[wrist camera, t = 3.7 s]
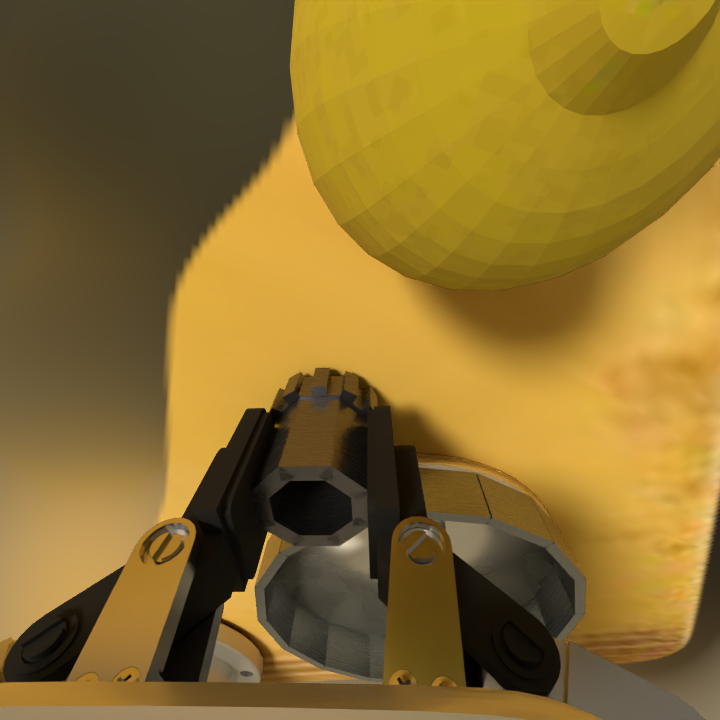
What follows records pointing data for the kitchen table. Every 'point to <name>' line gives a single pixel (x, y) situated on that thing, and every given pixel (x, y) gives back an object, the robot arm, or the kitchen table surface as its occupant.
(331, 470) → the gear
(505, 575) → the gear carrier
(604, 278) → the kitchen table surface
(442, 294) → the kitchen table surface
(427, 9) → the lemon
